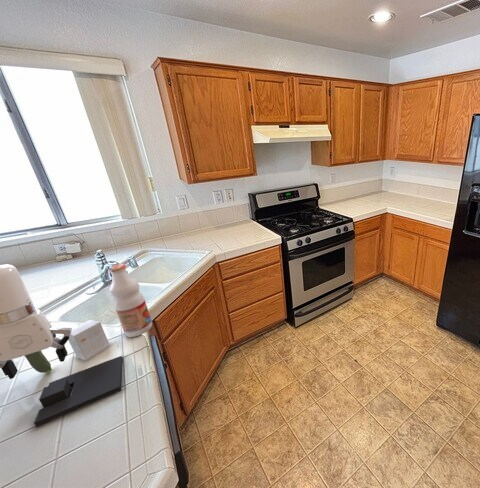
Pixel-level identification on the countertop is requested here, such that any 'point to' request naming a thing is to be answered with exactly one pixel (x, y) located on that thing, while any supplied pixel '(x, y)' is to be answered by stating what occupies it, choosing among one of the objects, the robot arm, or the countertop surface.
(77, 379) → the base pad
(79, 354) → the small box
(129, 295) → the fruit juice
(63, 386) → the pad piece
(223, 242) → the countertop surface
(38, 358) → the vegetable
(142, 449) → the countertop surface
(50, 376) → the countertop surface
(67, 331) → the robot arm
